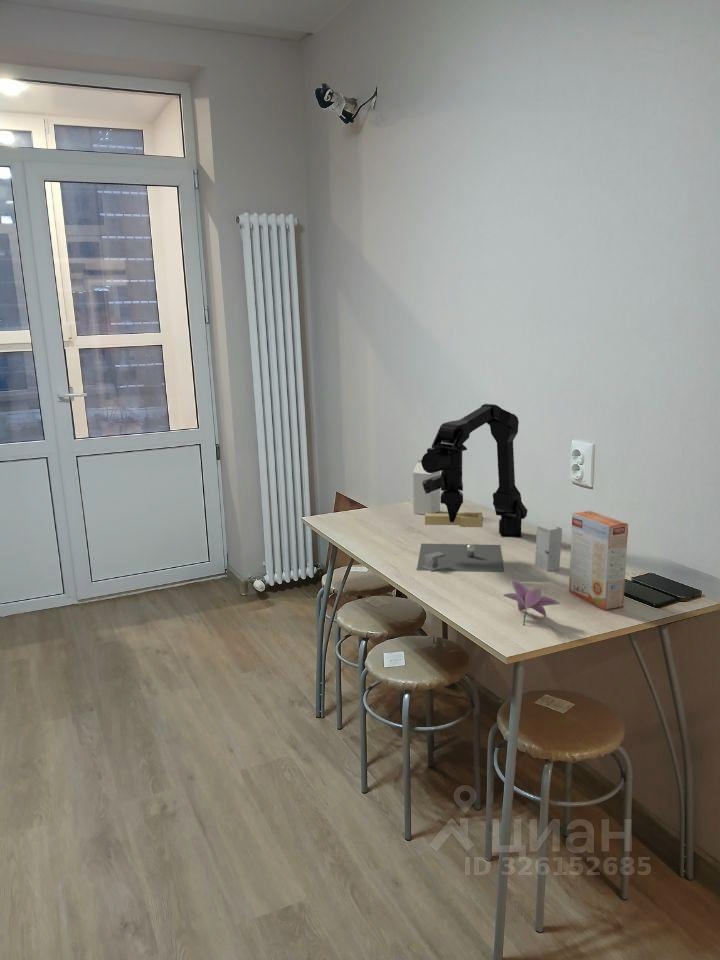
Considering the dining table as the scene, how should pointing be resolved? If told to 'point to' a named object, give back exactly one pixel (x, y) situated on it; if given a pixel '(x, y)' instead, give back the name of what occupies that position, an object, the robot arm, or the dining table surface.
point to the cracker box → (598, 559)
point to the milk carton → (420, 498)
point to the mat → (464, 557)
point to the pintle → (470, 551)
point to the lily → (530, 598)
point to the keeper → (432, 561)
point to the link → (461, 519)
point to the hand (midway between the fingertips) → (451, 520)
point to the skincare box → (548, 547)
